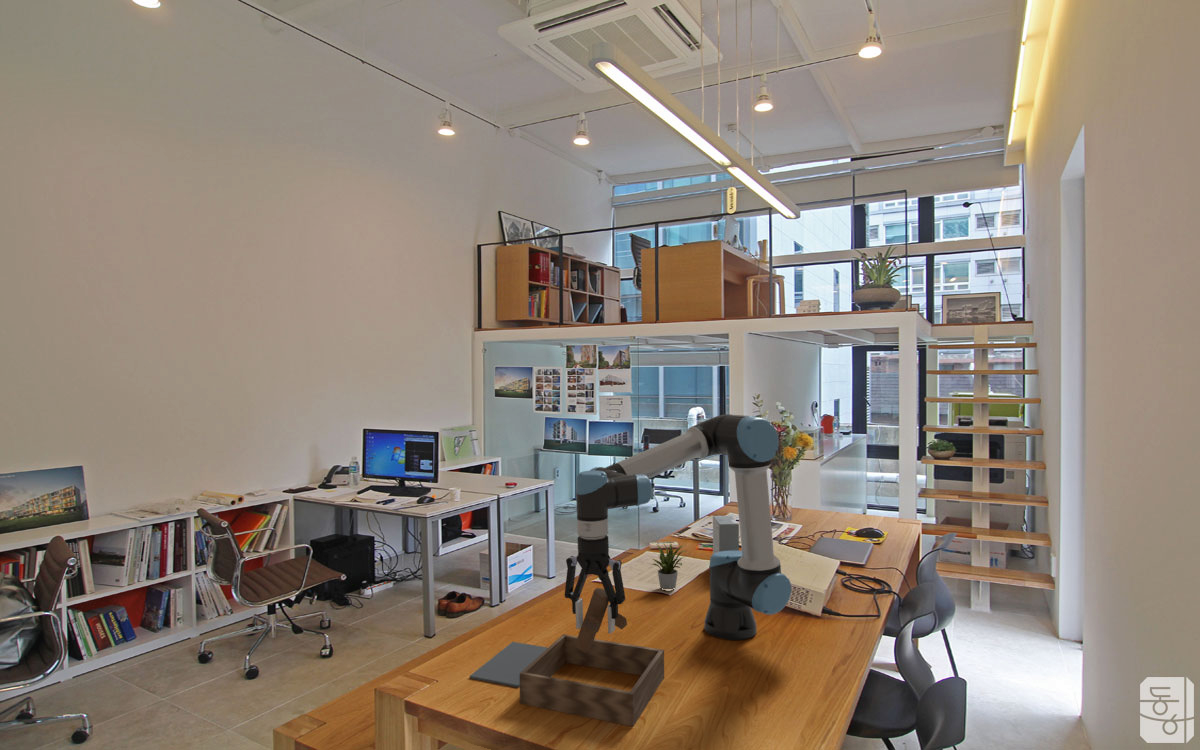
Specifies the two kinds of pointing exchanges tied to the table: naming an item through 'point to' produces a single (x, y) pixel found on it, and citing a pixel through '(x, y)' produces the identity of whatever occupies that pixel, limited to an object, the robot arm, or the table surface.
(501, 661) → the mat
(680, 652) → the table surface
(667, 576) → the house plant
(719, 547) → the hard drive box
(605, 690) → the crate
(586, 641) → the wooden block set
